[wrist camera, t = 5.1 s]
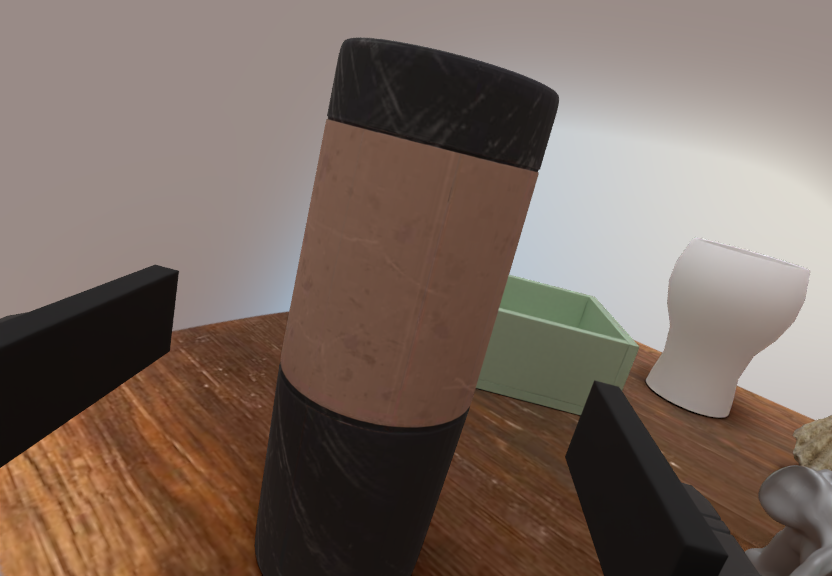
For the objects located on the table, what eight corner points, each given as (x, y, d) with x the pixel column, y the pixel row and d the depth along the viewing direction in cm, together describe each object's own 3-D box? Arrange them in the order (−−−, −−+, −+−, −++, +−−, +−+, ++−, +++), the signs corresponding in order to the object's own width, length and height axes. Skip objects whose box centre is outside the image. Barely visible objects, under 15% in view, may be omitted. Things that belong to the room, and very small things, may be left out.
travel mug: (279, 656, 17) (417, 31, 12) (227, 502, 23) (303, 37, 18) (453, 589, 22) (613, 109, 16) (372, 474, 28) (469, 93, 22)
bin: (444, 379, 41) (467, 301, 39) (449, 323, 54) (465, 263, 52) (609, 423, 41) (639, 346, 39) (573, 356, 54) (595, 296, 52)
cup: (615, 382, 50) (674, 234, 45) (648, 363, 58) (700, 236, 53) (735, 440, 43) (815, 275, 39) (753, 410, 51) (821, 270, 47)
